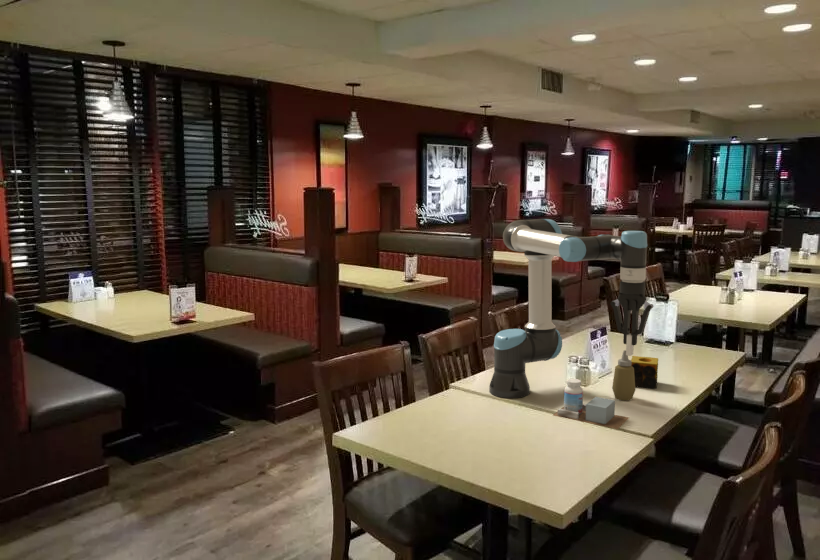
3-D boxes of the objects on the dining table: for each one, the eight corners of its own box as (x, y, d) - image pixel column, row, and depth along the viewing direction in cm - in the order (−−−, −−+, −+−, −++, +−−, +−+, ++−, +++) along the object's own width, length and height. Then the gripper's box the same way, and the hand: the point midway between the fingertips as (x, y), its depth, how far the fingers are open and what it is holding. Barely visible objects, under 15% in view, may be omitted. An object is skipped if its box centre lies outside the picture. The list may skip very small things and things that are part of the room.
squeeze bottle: (636, 396, 239) (638, 349, 237) (633, 403, 232) (635, 354, 229) (613, 393, 243) (615, 347, 240) (610, 400, 235) (612, 352, 233)
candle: (628, 386, 251) (629, 361, 249) (630, 379, 260) (631, 355, 259) (656, 389, 247) (657, 364, 246) (657, 382, 256) (658, 357, 255)
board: (552, 419, 218) (552, 407, 217) (565, 409, 227) (566, 398, 227) (617, 433, 205) (618, 421, 204) (629, 421, 215) (629, 410, 214)
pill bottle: (582, 416, 216) (583, 383, 214) (564, 415, 217) (564, 382, 215) (581, 410, 222) (582, 378, 220) (563, 409, 223) (564, 377, 221)
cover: (585, 420, 212) (586, 404, 211) (595, 412, 219) (595, 396, 219) (605, 424, 208) (605, 408, 208) (614, 415, 216) (615, 400, 215)
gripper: (607, 280, 203) (605, 354, 206) (650, 284, 195) (647, 360, 199) (615, 277, 209) (613, 349, 212) (657, 280, 201) (654, 354, 205)
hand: (629, 354), depth 205 cm, fingers closed
